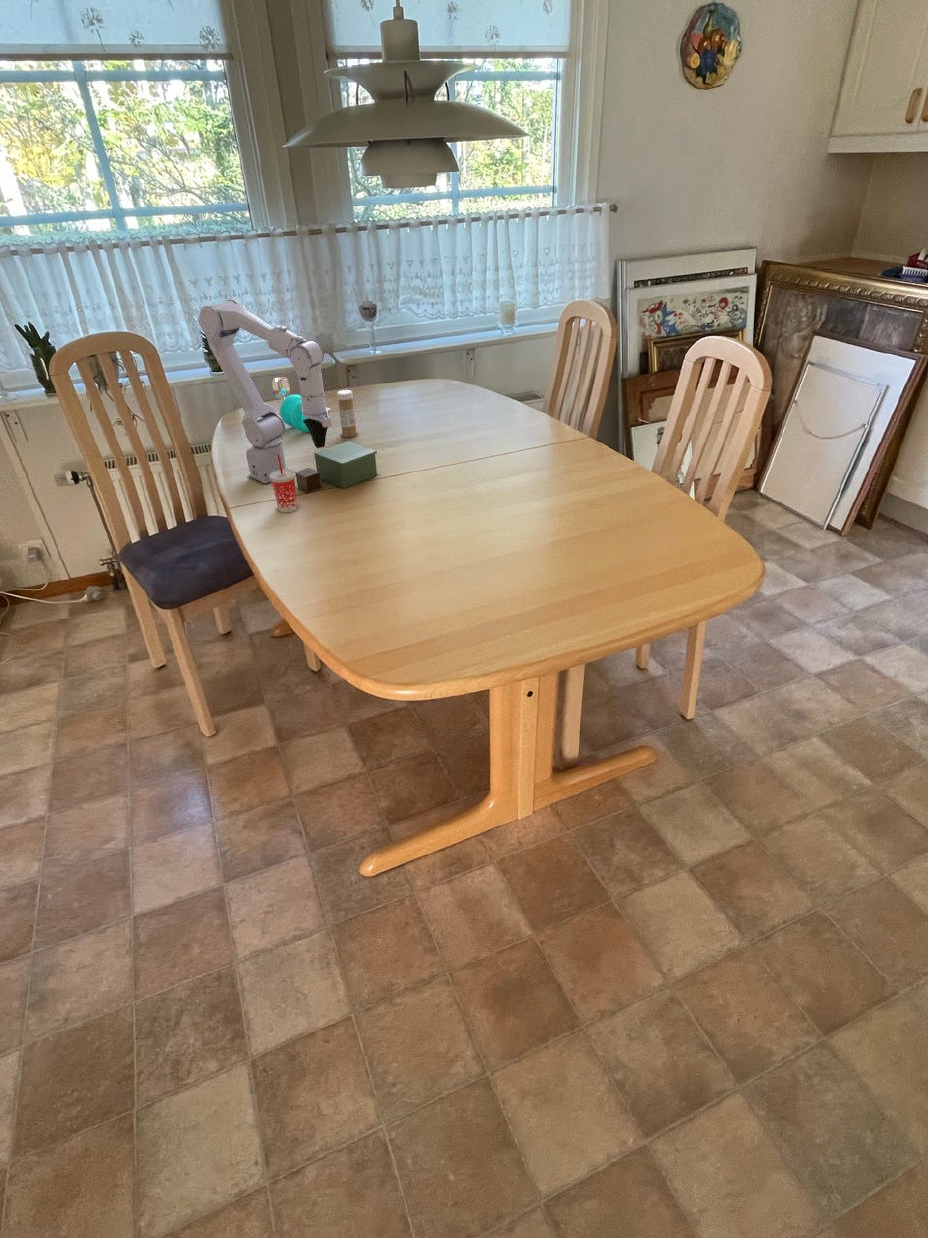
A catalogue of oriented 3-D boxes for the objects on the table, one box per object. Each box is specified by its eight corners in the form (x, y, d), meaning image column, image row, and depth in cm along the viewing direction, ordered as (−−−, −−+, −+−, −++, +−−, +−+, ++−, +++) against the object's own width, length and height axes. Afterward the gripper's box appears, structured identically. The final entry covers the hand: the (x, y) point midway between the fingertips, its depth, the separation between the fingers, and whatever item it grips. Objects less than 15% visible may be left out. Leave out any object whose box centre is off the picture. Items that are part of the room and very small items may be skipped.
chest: (377, 475, 189) (375, 453, 185) (343, 488, 182) (340, 466, 178) (351, 464, 195) (348, 443, 192) (317, 477, 188) (314, 455, 185)
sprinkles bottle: (351, 431, 217) (347, 388, 210) (359, 435, 214) (355, 391, 207) (339, 435, 215) (333, 391, 207) (347, 439, 212) (341, 394, 204)
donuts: (296, 436, 215) (291, 404, 209) (281, 428, 221) (275, 397, 215) (324, 429, 220) (320, 397, 214) (309, 421, 226) (304, 390, 220)
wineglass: (276, 414, 233) (270, 377, 226) (293, 412, 234) (288, 375, 227) (278, 419, 228) (271, 382, 221) (295, 417, 230) (289, 380, 223)
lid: (376, 453, 185) (376, 450, 184) (342, 466, 178) (342, 463, 178) (348, 443, 192) (348, 440, 191) (314, 455, 185) (314, 452, 184)
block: (307, 492, 180) (305, 477, 178) (297, 488, 183) (295, 472, 180) (321, 487, 183) (319, 471, 180) (311, 483, 185) (309, 467, 183)
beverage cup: (305, 508, 173) (296, 454, 165) (283, 516, 169) (273, 461, 161) (292, 500, 176) (283, 447, 168) (270, 508, 173) (260, 454, 165)
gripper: (339, 397, 167) (346, 451, 175) (316, 383, 178) (323, 435, 185) (312, 403, 164) (320, 457, 172) (289, 388, 174) (298, 440, 182)
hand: (320, 446), depth 179 cm, fingers closed
